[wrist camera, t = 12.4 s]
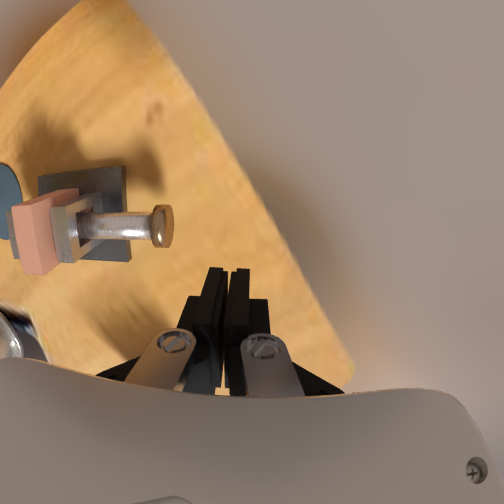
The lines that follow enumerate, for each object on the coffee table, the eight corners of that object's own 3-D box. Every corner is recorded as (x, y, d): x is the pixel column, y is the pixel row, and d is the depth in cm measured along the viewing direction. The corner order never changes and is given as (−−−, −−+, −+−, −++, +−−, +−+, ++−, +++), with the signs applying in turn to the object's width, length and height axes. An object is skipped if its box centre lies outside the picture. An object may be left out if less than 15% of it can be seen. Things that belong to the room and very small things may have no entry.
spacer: (65, 244, 26) (23, 273, 19) (59, 189, 24) (11, 206, 16) (84, 245, 26) (43, 275, 19) (78, 188, 24) (30, 205, 16)
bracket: (52, 254, 28) (17, 279, 21) (42, 175, 24) (0, 187, 17) (131, 258, 28) (101, 291, 21) (125, 165, 24) (86, 174, 17)
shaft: (89, 237, 24) (71, 250, 21) (85, 203, 23) (65, 211, 20) (174, 239, 24) (163, 254, 21) (173, 201, 23) (161, 209, 20)
